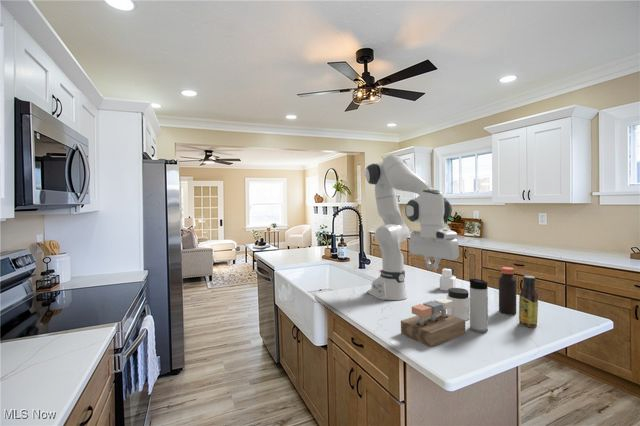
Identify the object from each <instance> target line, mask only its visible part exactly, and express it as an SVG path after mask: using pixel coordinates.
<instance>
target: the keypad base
mask: <svg viewBox="0 0 640 426" xmlns="http://www.w3.org/2000/svg"><path fill="white" fill-rule="evenodd" d="M400 334H401V335H404V336H405V337H408V338H410V339H413V340H415V341H417V342H419V343H421V344H422V345H423V344H424V345H426V346H428V347H430V348H432V347H435V346H438V345H440V344H443V343H444V342H447V341H450V340H453V339H454V338H457V337H459V336H461V335H462V336H463V335H464V334H466V321H465V320H463V319H460V318H457V317H454V316H451V315H448V314H447V313H446V318H445V319H444V318H441V311H440V312H437V313H435V322H431V321H430V315H428V316H425V317H424V326H423V327H422V326H419V316H418V315H414V316H411V317H408V318H404V319H402V320H400Z"/></svg>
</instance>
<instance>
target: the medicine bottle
mask: <svg viewBox="0 0 640 426" xmlns="http://www.w3.org/2000/svg"><path fill="white" fill-rule="evenodd" d="M454 273H455V272H454V269H453V268H452V267H443V268H442V269H441V276H439V290H440V291H445V292H448V289H449V288H457V277H456V276H454V275H455V274H454Z"/></svg>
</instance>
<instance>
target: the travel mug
mask: <svg viewBox="0 0 640 426" xmlns="http://www.w3.org/2000/svg"><path fill="white" fill-rule="evenodd" d="M488 285H489V284H488V281H485V280H484V279H479V278H469V298H470V319H469V329H470V330H471V331H473V332H476V333H479V334H480V333H487V332H488V331H489V328H488V327H489V326H488V325H489V323H488V322H489V317H488V316H489V313H488V312H489V311H488V310H489V308H488V307H489V306H488V305H489V299H488V298H489V296H488V295H489V293H488V290H489V289H488Z"/></svg>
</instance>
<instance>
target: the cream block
mask: <svg viewBox="0 0 640 426" xmlns="http://www.w3.org/2000/svg"><path fill="white" fill-rule="evenodd" d="M433 301H434V302H437V303H440V304H443V311H440V312H441V318H444V319H445V318H446V314H447V309H449V308H452V307H453V301H452V300H448V299H447V298H444V297H439V298H437V299H433Z"/></svg>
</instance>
